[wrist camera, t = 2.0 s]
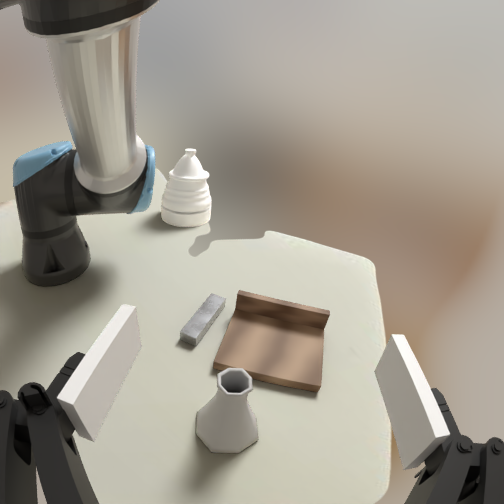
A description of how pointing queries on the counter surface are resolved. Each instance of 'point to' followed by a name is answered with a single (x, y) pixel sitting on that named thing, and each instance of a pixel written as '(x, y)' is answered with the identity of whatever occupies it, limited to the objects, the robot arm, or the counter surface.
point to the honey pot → (187, 194)
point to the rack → (275, 341)
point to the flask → (228, 414)
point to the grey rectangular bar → (202, 320)
